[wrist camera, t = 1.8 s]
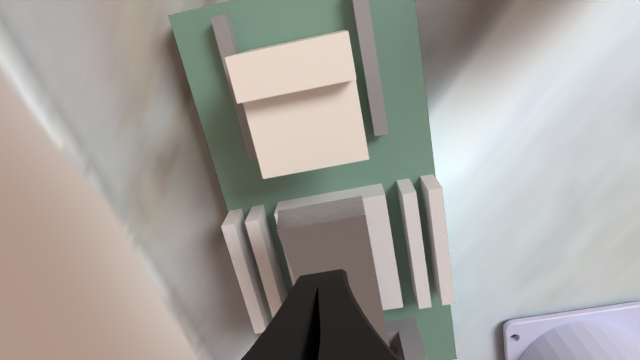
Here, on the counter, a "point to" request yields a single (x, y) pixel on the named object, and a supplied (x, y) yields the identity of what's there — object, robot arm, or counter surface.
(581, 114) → the counter surface
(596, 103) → the counter surface
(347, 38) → the clip
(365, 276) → the strap
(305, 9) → the heatsink board
